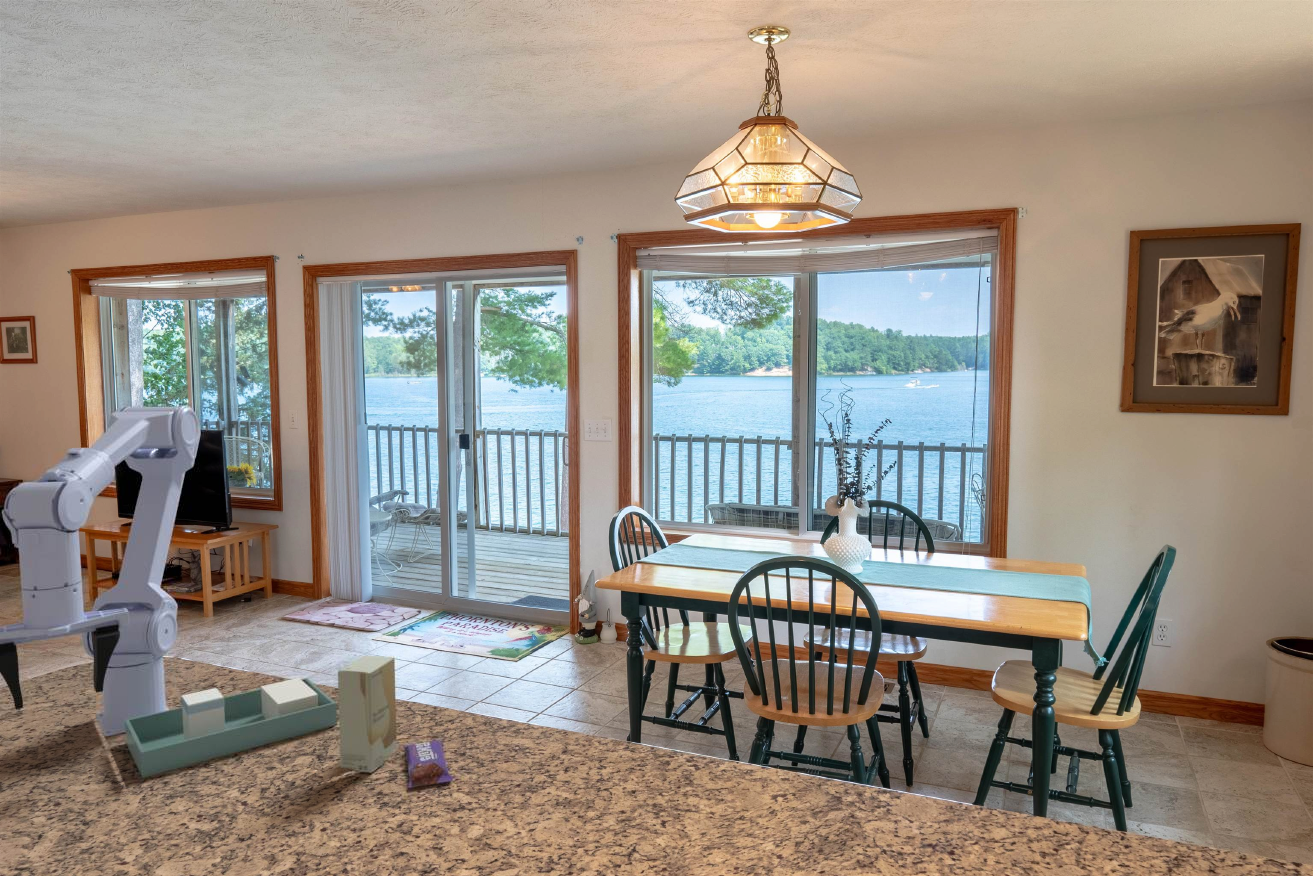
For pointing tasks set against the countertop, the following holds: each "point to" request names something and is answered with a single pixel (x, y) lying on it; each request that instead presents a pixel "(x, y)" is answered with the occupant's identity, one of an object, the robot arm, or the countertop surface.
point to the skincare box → (367, 713)
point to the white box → (287, 698)
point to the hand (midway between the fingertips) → (59, 697)
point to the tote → (165, 749)
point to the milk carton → (203, 713)
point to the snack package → (426, 764)
